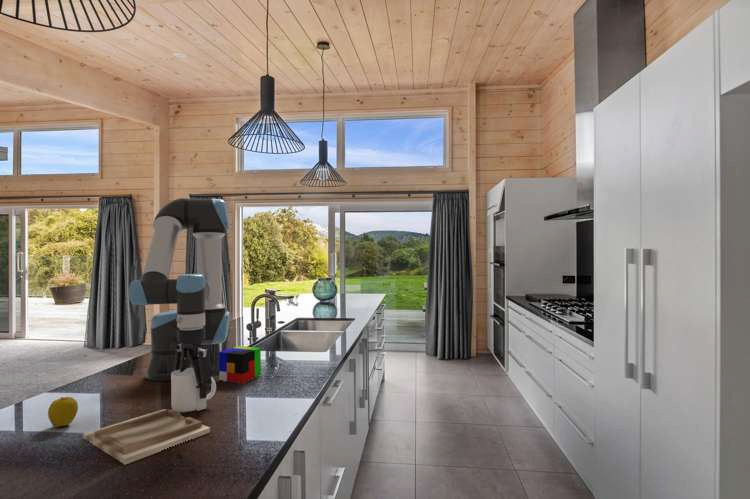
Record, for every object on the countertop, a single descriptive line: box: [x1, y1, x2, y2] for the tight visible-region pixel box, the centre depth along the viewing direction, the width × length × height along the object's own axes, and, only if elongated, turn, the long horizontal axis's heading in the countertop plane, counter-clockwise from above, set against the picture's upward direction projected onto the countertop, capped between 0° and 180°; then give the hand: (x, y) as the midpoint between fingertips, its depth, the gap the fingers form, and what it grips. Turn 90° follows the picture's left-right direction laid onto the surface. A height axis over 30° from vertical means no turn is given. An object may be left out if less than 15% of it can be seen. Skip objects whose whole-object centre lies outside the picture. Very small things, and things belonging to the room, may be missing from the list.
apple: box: [47, 396, 79, 428], centre depth 114 cm, size 6×6×8 cm
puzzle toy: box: [218, 345, 262, 384], centre depth 155 cm, size 10×10×10 cm
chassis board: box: [83, 408, 211, 465], centre depth 108 cm, size 22×20×2 cm
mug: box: [170, 367, 217, 413], centre depth 126 cm, size 12×8×10 cm
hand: (192, 405), depth 127 cm, fingers closed on mug, 9 cm apart
